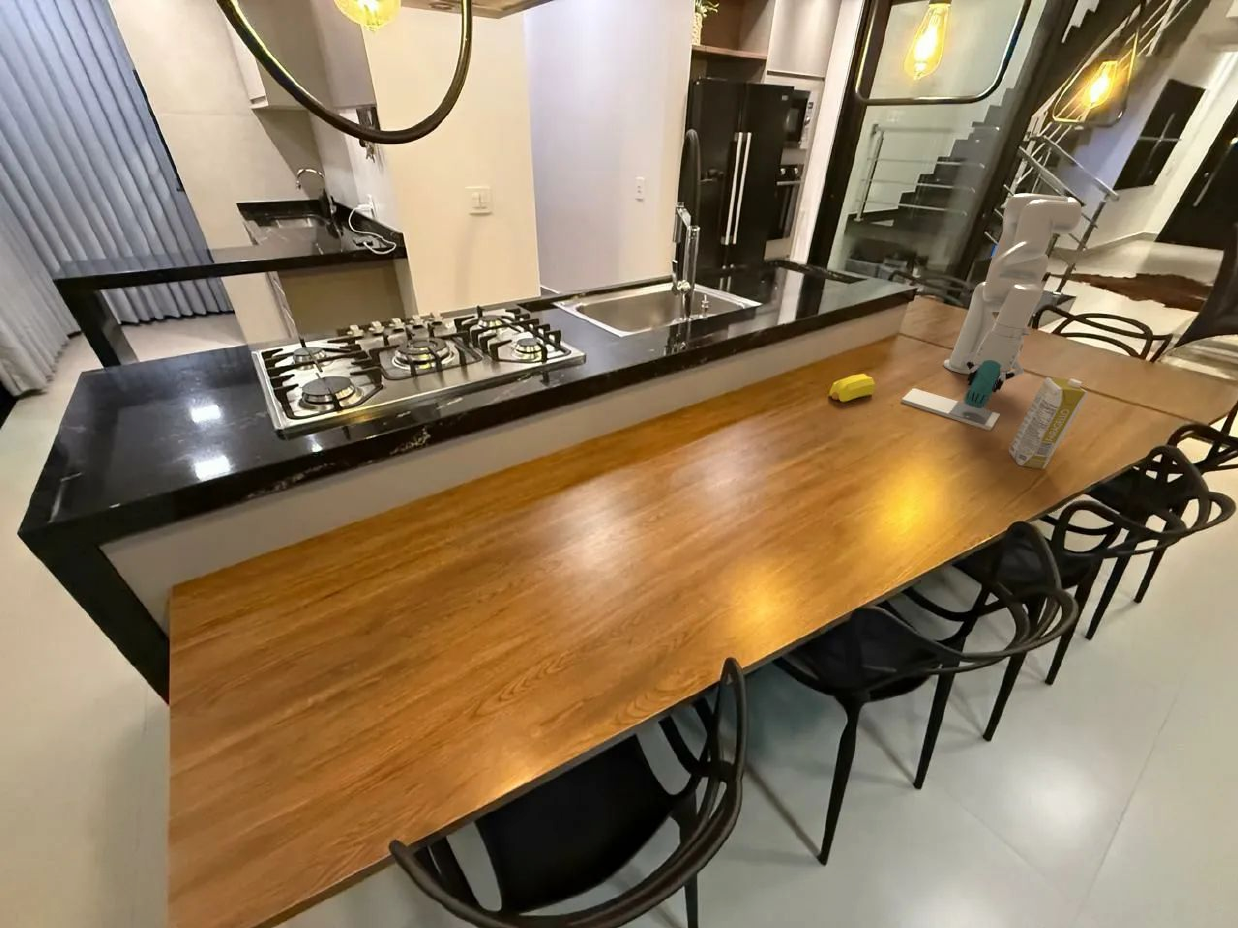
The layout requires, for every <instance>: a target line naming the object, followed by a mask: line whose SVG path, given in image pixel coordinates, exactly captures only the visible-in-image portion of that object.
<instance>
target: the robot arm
mask: <svg viewBox="0 0 1238 928" xmlns="http://www.w3.org/2000/svg"><path fill="white" fill-rule="evenodd" d="M1082 210H1083V209H1082V205H1081V203H1080V202H1079V201H1078V200H1077V199H1076V198H1074V197H1070V196H1060V195H1049V194H1039V193H1017V194H1014V195H1012V196H1011V197H1010V198H1009V199H1008V200H1007V202H1006V204H1005V207H1004V210H1003V215H1002V216H1003V217H1002V218H1003V219H1002V221H1003V222H1002V224H1003V225H1002V233H1001V237H1000V238H999V241H998V244H997V246H996V248H995V251H994V254H993V256H992V258H991V261H990V264H989V267H988V272H987V275H986V278H985V281H982V282H980V283H979V284H977V286H976V287H974V291H973V293H972V296H971V300H970V305H969V308H968V312H967V315H966V318H965V320H964V322H963V325H962V327H961V330H960V333H959V336H958V338H957V340H956V342H955V345H954V348H953V350H952V353H951V354H950V358H948V359H945V360H944V361H943V362H942V365H943V367H944V368H945V369H947V370H950V371H952V372H954V373H958V374H963V375H968V377H967V379H966V382H968V383H967V386H970V385H971V383H972V381H973V378H974V376H975V374H976V373H975V372H976V371H977V369H978V368H979V367H980V366H981V365H982V364H983V361H987V360H993V361H996V362H997V363H999V364H1000V365H1001V367H1000V371H1001V372H1000V374H1001V375H1000V377H999V379H998V381H997V383H996V385H995V387H994V390H993V392H992V393H996V392H997V391H1000V390H1001V389H1002V388H1003V385H1004V382H1005V381H1007V380H1009V379H1012V378H1014V377H1017V376H1020V375H1021V374H1023V373H1024V369H1023V367H1022V366H1021V364H1020V362H1019V360H1018V358H1019V356H1020V354H1021V351H1022V348H1023V345H1024V341H1025V337H1024V336H1030V335H1031V331H1032V330H1029V329H1028V328H1027V326H1028V325H1029V323H1030V320H1031V318H1032V316H1033V314H1034V312H1035V310H1036V308H1037V305H1038V303H1039V301H1040V300H1041V299H1042V296H1043V294H1044V288H1043V287H1044V286H1043V284H1042V281H1043V279H1044V277H1045V274H1046V272H1047V268H1048V266H1049V257H1048V255H1047V254H1046V252H1047V250H1048V247H1049V244H1050V238H1051V234H1058V235H1059V234H1062V235H1069V234H1070V233H1072V232H1073V231H1074V230H1076V228H1077V227H1078V226H1079V223H1080V220H1081V218H1082V212H1083V211H1082ZM994 312H995V313H998V315H997V318H996V320H995V317H994V315H993V313H994ZM1013 368H1014V369H1015V371H1011V370H1012V369H1013ZM1008 372H1009V373H1008Z"/></svg>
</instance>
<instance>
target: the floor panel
mask: <svg viewBox="0 0 1238 928" xmlns="http://www.w3.org/2000/svg"><path fill="white" fill-rule="evenodd" d="M900 403H902V404H905V405H908V406H911V407H914V408H917V409H920V410H923V411H927V412H930V413H934V414H936V415H938V416H943V417H946V418H948V419H953V420H955V421H958V422H962V423H964V424H968V425H971V426H974V427H977V428H981V429H984V430H986V431H991V430H992V429H993V427H994V426H995V424H996V423H997V421H998V419H999V418H1000V415H1001V414H1000V413H998V412H994V410H990V409H986V408H985V407H984V408H975V407H971V406H969V405H967V404H965V403H964V401H959V400H954V399H951V398H948V397H944V396H941V395H938V394H935V393H931V392H928V391H924V390H921V389H918V388H916V387H914V388H912V389H911V390H910V391H909V392H908V393H906V395H904V397H902V399H901V401H900Z"/></svg>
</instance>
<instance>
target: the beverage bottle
mask: <svg viewBox="0 0 1238 928" xmlns="http://www.w3.org/2000/svg"><path fill="white" fill-rule="evenodd" d="M1000 367H1001V365H1000V364H999V363H997V362H996V361H993V360H987V361H983V364H982V365H981V366H980V367H979V368H978V369H977V371H976V372H975V373H976V374H975V376H974V378H973V381H972V383H971V385H968V388H967V391H966V393H965V395H964V397H963V402H964V403H965V404H967V405H969V406H971V407H975V408H984V409H985V407H986V406H987V405H988V402H989V401H990V400H991V399H990V398H991V397H992V395H993V393H994V392H993V390H994V388H995V386H996V383H997V381H998V380H999V378H1000V377H1001V374H1000V372H1001V371H1000Z"/></svg>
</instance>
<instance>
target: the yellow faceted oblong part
mask: <svg viewBox="0 0 1238 928" xmlns="http://www.w3.org/2000/svg"><path fill="white" fill-rule="evenodd" d="M830 387H831V388H830V390H829V397H831V398H832V400H835V401H838V400H839V401H840V402H841V403H847V402H849V401H852V400H854V399H855V400H856V399H858V398H862V397H867V396H871V395H872V394H874V393H875V387H876V382H875V381H874V377H871V376H868V375H866V374H865V373H860V374H855V375H854V374H852V375H850V376H847V377H844V378H842V379H838V380H837V381H834V382H833V383H832V386H830Z"/></svg>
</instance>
